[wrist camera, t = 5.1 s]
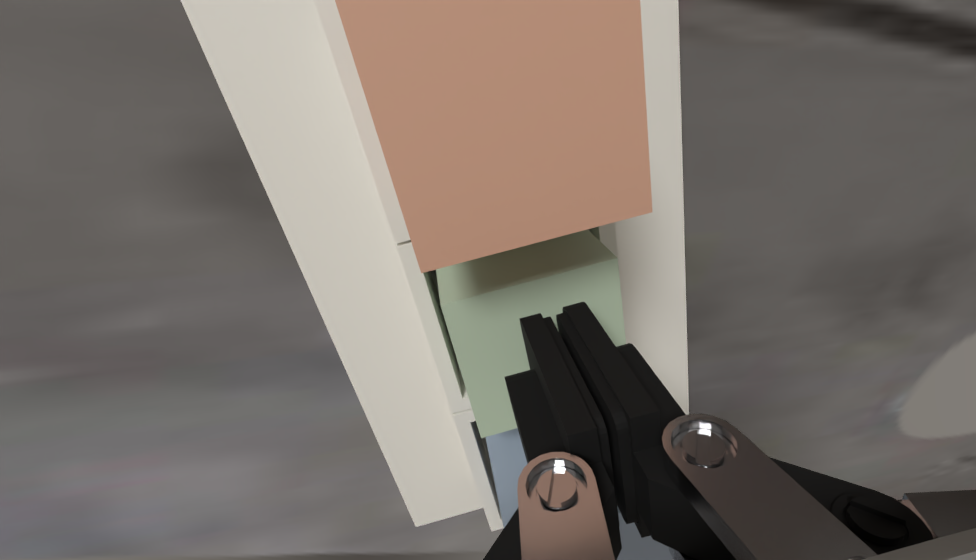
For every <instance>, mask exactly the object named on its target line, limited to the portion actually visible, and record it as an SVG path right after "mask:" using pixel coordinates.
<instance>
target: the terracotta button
mask: <svg viewBox="0 0 976 560" xmlns="http://www.w3.org/2000/svg"><path fill="white" fill-rule="evenodd" d="M335 2H336V5H337V9H338V12H339V15H340V18H341V21H342V24H343V28H344V31H345V34H346V37H347V40H348V43H349V47H350V50H351V53H352V56H353V59H354V62H355V66H356V69H357V72H358V75H359V78H360V81H361V84H362V88H363V91H364V94H365V97H366V100H367V103H368V107H369V110H370V113H371V116H372V119H373V122H374V126H375V129H376V132H377V135H378V138H379V141H380V145H381V148H382V151H383V154H384V157H385V160H386V164H387V167H388V170H389V173H390V176H391V179H392V182H393V186H394V189H395V192H396V195H397V198H398V201H399V205H400V208H401V211H402V214H403V217H404V220H405V224H406V227H407V230H408V233H409V236H410V239H411V243H412V246H413V249H414V252H415V255H416V258H417V262H418V265H419V268H420V271H421V273H424V272H428V271H432V270H436V269H440V268H443V267H447V266H451V265H455V264H458V263H462V262H466V261H470V260H474V259H477V258H481V257H485V256H489V255H493V254H496V253H500V252H504V251H508V250H511V249H515V248H519V247H523V246H527V245H530V244H534V243H538V242H542V241H545V240H549V239H553V238H557V237H561V236H564V235H568V234H572V233H576V232H580V231H583V230H587V229H591V228H595V227H598V226H602V225H606V224H610V223H614V222H617V221H621V220H625V219H629V218H632V217H636V216H640V215H644V214H648V213H651V212H652V195H651V178H650V161H649V144H648V127H647V109H646V92H645V75H644V58H643V41H642V24H641V6H640V0H335Z"/></svg>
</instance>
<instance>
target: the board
mask: <svg viewBox="0 0 976 560" xmlns="http://www.w3.org/2000/svg"><path fill="white" fill-rule="evenodd" d="M181 2H182V4H183V7H184V9H185V11H186V13H187V16H188V18H189V20H190V22H191V25H192V27H193V29H194V31H195V33H196V36H197V38H198V40H199V42H200V45H201V47H202V49H203V51H204V54H205V56H206V58H207V60H208V63H209V65H210V67H211V69H212V72H213V74H214V76H215V78H216V80H217V83H218V85H219V87H220V89H221V92H222V94H223V96H224V98H225V101H226V103H227V105H228V107H229V110H230V112H231V114H232V116H233V119H234V121H235V123H236V125H237V127H238V130H239V132H240V134H241V136H242V139H243V141H244V143H245V145H246V148H247V150H248V152H249V154H250V157H251V159H252V161H253V163H254V166H255V168H256V170H257V172H258V175H259V177H260V179H261V181H262V183H263V186H264V188H265V190H266V192H267V195H268V197H269V199H270V201H271V204H272V206H273V208H274V210H275V213H276V215H277V217H278V219H279V222H280V224H281V226H282V228H283V230H284V233H285V235H286V237H287V239H288V242H289V244H290V246H291V248H292V251H293V253H294V255H295V257H296V260H297V262H298V264H299V266H300V269H301V271H302V273H303V275H304V277H305V280H306V282H307V284H308V286H309V289H310V291H311V293H312V295H313V298H314V300H315V302H316V304H317V307H318V309H319V311H320V313H321V316H322V318H323V320H324V322H325V325H326V327H327V329H328V331H329V333H330V336H331V338H332V340H333V342H334V345H335V347H336V349H337V351H338V354H339V356H340V358H341V360H342V363H343V365H344V367H345V369H346V372H347V374H348V376H349V378H350V380H351V383H352V385H353V387H354V389H355V392H356V394H357V396H358V398H359V401H360V403H361V405H362V407H363V410H364V412H365V414H366V416H367V419H368V421H369V423H370V425H371V427H372V430H373V432H374V434H375V436H376V439H377V441H378V443H379V445H380V448H381V450H382V452H383V454H384V457H385V459H386V461H387V463H388V466H389V468H390V470H391V472H392V475H393V477H394V479H395V481H396V483H397V486H398V488H399V490H400V492H401V495H402V497H403V499H404V501H405V504H406V506H407V508H408V510H409V513H410V515H411V517H412V519H413V522H414V524H415V526H416V527H418V526H421V525H425V524H428V523H432V522H435V521H439V520H442V519H446V518H449V517H453V516H456V515H460V514H463V513H467V512H470V511H474V510H477V509H481V508H484V511H485V514H486V517H487V520H488V523H489V526H490V528H491V531H495V530H498V529H502V528H504V527H503V522H502V517H501V512H500V507H499V502H498V497H497V492H496V487H495V482H494V477H493V472H492V467H491V462H490V457H489V452H488V447H487V442H486V437H484V438H481V436H480V433H479V430H478V426H477V423H476V420H475V417H474V413H473V410H472V407H471V403H470V400H469V397H468V394H467V390H466V387H465V384H464V381H463V377H462V374H461V371H460V368H459V364H458V361H457V358H456V354H455V351H454V348H453V345H452V341H451V338H450V335H449V332H448V328H447V325H446V322H445V318H444V315H443V312H442V309H441V305H440V298H439V290H438V282H437V274H436V270H432V271H428V272H424V273H421V271H420V268H419V265H418V262H417V258H416V255H415V252H414V249H413V246H412V243H411V239H410V236H409V233H408V230H407V227H406V224H405V220H404V217H403V214H402V211H401V208H400V205H399V201H398V198H397V195H396V192H395V189H394V186H393V182H392V179H391V176H390V173H389V170H388V167H387V164H386V160H385V157H384V154H383V151H382V148H381V145H380V141H379V138H378V135H377V132H376V129H375V126H374V122H373V119H372V116H371V113H370V110H369V107H368V103H367V100H366V97H365V94H364V91H363V88H362V84H361V81H360V78H359V75H358V72H357V69H356V66H355V62H354V59H353V56H352V53H351V50H350V47H349V43H348V40H347V37H346V34H345V31H344V28H343V24H342V21H341V18H340V15H339V12H338V9H337V5H336V2H335V0H181ZM640 6H641V24H642V41H643V58H644V75H645V92H646V109H647V127H648V144H649V161H650V178H651V195H652V212H651V213H648V214H644V215H640V216H636V217H632V218H629V219H625V220H621V221H617V222H614V223H610V224H606V225H602V226H598V227H595V228H591V229H588V230H589V231H590V232H591V233H592V234H593V235H594V236H595V237H596V238H597V239H598V240H599V241H600V242H601V243H602V244H604V245H605V246H606V247H607V248H608V249H609V250H610V251H611V252H612V253H613V254H614V255H615V256H616V257H617V258H618V267H619V278H620V288H621V298H622V308H623V318H624V328H625V338H626V344H628V343H631V344H633V345H634V346H635V347H636V349H637V350H638V351H639V353H640V354H641V355H642V357H643V358H644V359H645V361H646V362H647V363H648V365H649V366H650V367H651V369H652V370H653V371H654V373H655V374H656V375H657V377H658V378H659V379H660V381H661V382H662V383H663V385H664V386H665V387H666V389H667V390H668V391H669V393H670V394H671V395H672V397H673V398H674V399H675V401H676V402H677V403H678V405H679V406H680V407H681V409H682V410H683V411H684V413H685V414H686V415H688V414H689V395H688V357H687V319H686V280H685V242H684V203H683V165H682V127H681V88H680V50H679V11H678V0H640Z"/></svg>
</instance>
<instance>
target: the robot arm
mask: <svg viewBox="0 0 976 560" xmlns="http://www.w3.org/2000/svg"><path fill="white" fill-rule="evenodd" d="M562 311H563V313H561V314H557V315H556V320H557V326H558V330H557V328H556V326H555V324H554V322H553V320H552V318H551V317H550V316H549V317H546V318H543V316H542V314H541V313H538V314H535V315H531V316H527V317H523V318H520V325H521V330H522V335H523V339H524V344H525V348H526V353H527V357H528V362H529V367H530V370H528V371H524V372H520V373H517V374H513V375H509V376H506V377H505V382H506V386H507V390H508V394H509V398H510V401H511V405H512V409H513V413H514V417H515V420H516V424H517V428H518V432H519V435H520V439H521V442H522V446H523V449H524V453H525V457H526V460H527V465H526V466H525V467H524V468H523V470H522V472H521V474H520V476H519V478H518V487H517V493H518V508H517V510H516V511H515V513H514V514H513V516H512V517H511V519H510V520H509V522H508V523H507V525H506V526H505V528H504V529H503V531H502V532H501V534H500V535H499V537H498V538H497V540H496V541H495V543H494V544H493V546H492V547H491V549H490V550H489V552H488V553H487V555H486V556H485V558H484V559H483V560H617V558H618V556H619V554H620V551H621V549H622V544H621V537H620V529H619V526H620V525H619V516H618V509H617V506H618V508H619V510H620V513H621V515H622V517H623V519H624V521H625V523H626V524H630V523H635V525H636V527H637V529H638V531H639V533H640V535H641V538H644V537H647V536H651V537H652V539H653V540H655V541H657V542H659V543H661V544H664V545H666V546H668V547H669V552H670V554H671V555H672V557H673V559H674V560H976V490H962V491H942V492H922V493H904V496H903V499H902V500H896V499H894V498H892V497H890V496H887V495H885V494H882V493H880V492H877V491H875V490H872V489H868V488H865V487H862V486H859V485H856V484H852V483H849V482H846V481H843V480H840V479H837V478H833V477H830V476H827V475H824V474H821V473H817V472H814V471H811V470H808V469H805V468H802V467H798V466H795V465H792V464H789V463H786V462H782V461H779V460H776V459H773V458H770V457H768V456H767V455H766V454H765V453H763V452H762V451H761V450H760V449H759V448H758V447H757V446H756V445H755V444H753V443H752V442H751V441H750V440H749V439H748V438H747V437H746V436H745V435H743V434H742V433H741V432H740V431H739V430H738V429H737V428H735V427H734V426H733V425H731V424H730V423H728V422H727V421H725V420H722V419H720V418H717V417H715V416H711V415H705V414H688V415H686V414H685V413H684V411H683V410H682V409H681V407H680V406H679V405H678V403H677V402H676V401H675V399H674V398H673V397H672V395H671V394H670V393H669V391H668V390H667V389H666V387H665V386H664V385H663V383H662V382H661V381H660V379H659V378H658V377H657V375H656V374H655V373H654V371H653V370H652V369H651V367H650V366H649V365H648V363H647V362H646V361H645V359H644V358H643V357H642V355H641V354H640V353H639V351H638V350H637V349H636V347H635V346H634V345H633V344H631V343H628V344H624V345H621V346H617V347H616V346H615V345H614V343H613V342H612V340H611V339H610V337H609V336H608V335H607V333H606V332H605V330H604V329H603V327H602V326H601V324H600V323H599V321H598V320H597V319H596V317H595V316H594V314H593V313H592V311H591V310H590V308H589V307H588V305H587V304H586V303H585V302H580V303H576V304H572V305H569V306H565V307H563V309H562ZM558 331H559V332H558Z"/></svg>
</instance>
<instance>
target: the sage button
mask: <svg viewBox="0 0 976 560" xmlns="http://www.w3.org/2000/svg"><path fill="white" fill-rule="evenodd" d="M436 274H437V282H438V290H439V298H440V305H441V309H442V312H443V315H444V318H445V322H446V325H447V328H448V332H449V335H450V338H451V341H452V345H453V348H454V351H455V354H456V358H457V361H458V364H459V368H460V371H461V374H462V377H463V381H464V384H465V387H466V390H467V394H468V397H469V400H470V403H471V407H472V410H473V413H474V417H475V420H476V423H477V426H478V430H479V433H480V436H481V438H484V437H487V436H491V435H495V434H498V433H502V432H505V431H509V430H512V429H516V428H517V424H516V420H515V417H514V413H513V409H512V405H511V401H510V398H509V394H508V390H507V386H506V382H505V377H506V376H509V375H513V374H517V373H520V372H524V371H528V370H530V367H529V362H528V357H527V353H526V348H525V344H524V339H523V335H522V330H521V325H520V318H523V317H527V316H531V315H535V314H538V313H541V314H542V316H543V318H546V317H549V316H550V317H551V318H552V320H553V322H554V324H555V326H556V328H557V330H558V326H557V320H556V315H557V314H561V313H563V311H562V309H563V307H565V306H569V305H572V304H576V303H580V302H585V303H586V304H587V305H588V307H589V308H590V310H591V311H592V313H593V314H594V316H595V317H596V319H597V320H598V321H599V323H600V324H601V326H602V327H603V329H604V330H605V332H606V333H607V335H608V336H609V337H610V339H611V340H612V342H613V343H614V345H615V346H616V347H617V346H621V345H624V344H626V338H625V328H624V318H623V308H622V298H621V288H620V278H619V267H618V258H617V257H616V256H615V255H614V254H613V253H612V252H611V251H610V250H609V249H608V248H607V247H606V246H605V245H604V244H602V243H601V242H600V241H599V240H598V239H597V238H596V237H595V236H594V235H593V234H592V233H591V232H590V231H589V230H588V229H587V230H583V231H580V232H576V233H572V234H568V235H564V236H561V237H557V238H553V239H549V240H545V241H542V242H538V243H534V244H530V245H527V246H523V247H519V248H515V249H511V250H508V251H504V252H500V253H496V254H493V255H489V256H485V257H481V258H477V259H474V260H470V261H466V262H462V263H458V264H455V265H451V266H447V267H443V268H440V269H436ZM558 332H559V331H558Z"/></svg>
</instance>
